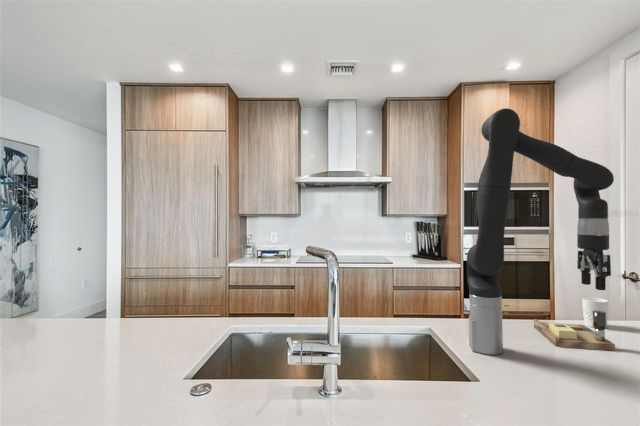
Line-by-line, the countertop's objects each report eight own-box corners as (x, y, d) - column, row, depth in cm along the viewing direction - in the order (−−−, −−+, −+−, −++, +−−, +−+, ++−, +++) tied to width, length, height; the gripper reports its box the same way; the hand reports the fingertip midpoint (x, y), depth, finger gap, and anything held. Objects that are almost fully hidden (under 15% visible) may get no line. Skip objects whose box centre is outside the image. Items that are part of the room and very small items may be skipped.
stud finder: (559, 338, 109) (558, 330, 109) (549, 330, 117) (549, 322, 117) (576, 339, 108) (576, 331, 108) (565, 331, 116) (565, 323, 116)
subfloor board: (555, 346, 108) (555, 336, 108) (533, 327, 128) (533, 319, 128) (615, 350, 104) (614, 341, 104) (583, 330, 123) (582, 322, 124)
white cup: (577, 323, 131) (576, 298, 131) (591, 321, 133) (591, 296, 134) (599, 330, 123) (598, 302, 124) (614, 327, 126) (613, 301, 126)
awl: (596, 341, 107) (596, 313, 107) (591, 338, 110) (590, 310, 110) (608, 342, 106) (607, 313, 106) (603, 338, 109) (602, 311, 109)
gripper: (568, 232, 110) (568, 282, 110) (590, 234, 96) (590, 291, 96) (595, 233, 108) (595, 283, 108) (621, 234, 94) (621, 292, 94)
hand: (593, 287), depth 102 cm, fingers open, 8 cm apart
